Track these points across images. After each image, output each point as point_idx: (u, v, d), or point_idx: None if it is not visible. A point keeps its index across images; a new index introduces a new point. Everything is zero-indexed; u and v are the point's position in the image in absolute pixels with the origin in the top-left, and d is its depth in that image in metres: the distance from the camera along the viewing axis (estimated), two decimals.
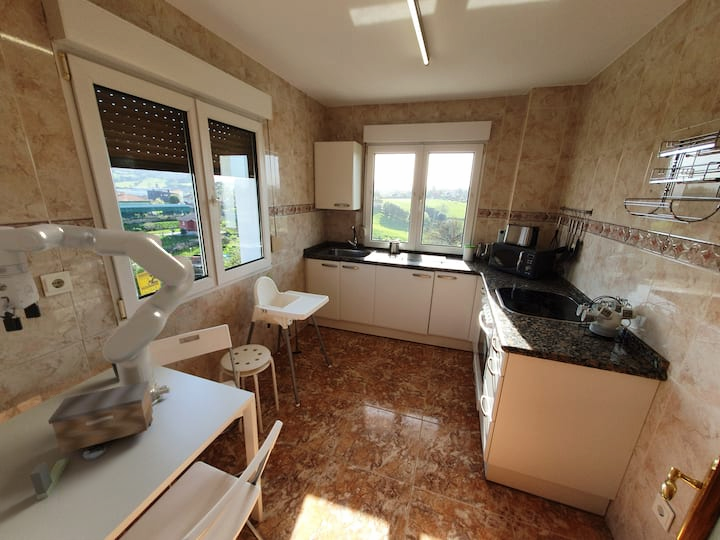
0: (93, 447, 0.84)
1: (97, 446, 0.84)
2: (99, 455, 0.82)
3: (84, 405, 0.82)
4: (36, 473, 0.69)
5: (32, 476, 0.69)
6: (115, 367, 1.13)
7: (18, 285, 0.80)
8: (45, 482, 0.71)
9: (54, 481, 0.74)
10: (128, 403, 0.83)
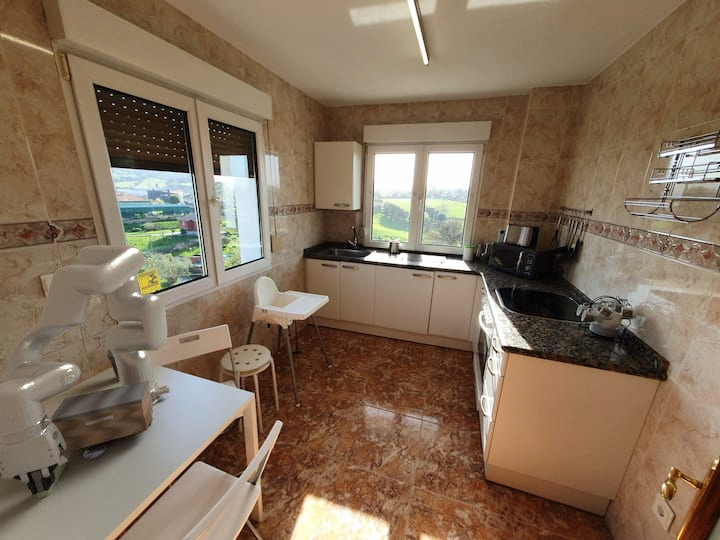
0: (91, 447, 0.83)
1: (95, 446, 0.84)
2: (103, 452, 0.83)
3: (84, 405, 0.82)
4: (37, 471, 0.69)
5: (33, 474, 0.69)
6: (115, 367, 1.13)
7: None
8: None
9: (55, 479, 0.74)
10: (128, 403, 0.83)
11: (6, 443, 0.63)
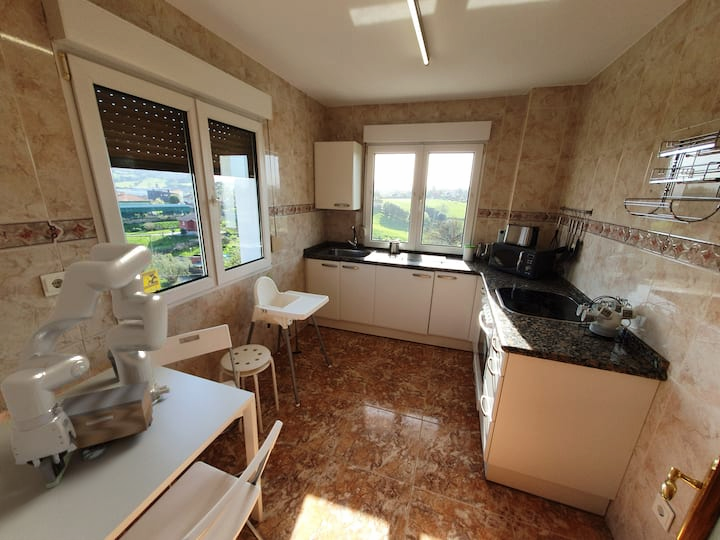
0: (87, 451, 0.82)
1: (90, 449, 0.83)
2: (105, 446, 0.85)
3: (84, 405, 0.82)
4: (44, 466, 0.71)
5: (40, 469, 0.71)
6: (115, 367, 1.13)
7: None
8: (53, 473, 0.73)
9: None
10: (128, 403, 0.83)
11: (20, 429, 0.67)
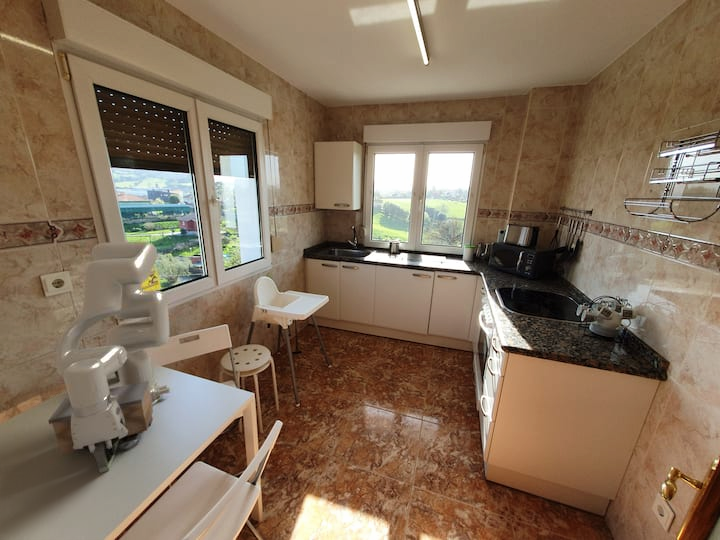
0: (122, 441, 0.86)
1: (124, 439, 0.87)
2: (138, 437, 0.88)
3: None
4: (98, 451, 0.75)
5: (95, 454, 0.75)
6: None
7: None
8: (106, 458, 0.78)
9: (112, 456, 0.81)
10: (128, 403, 0.83)
11: (80, 415, 0.71)
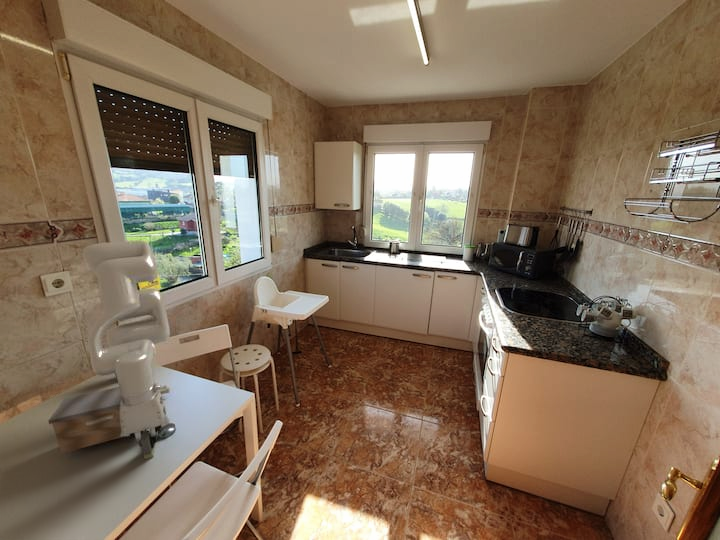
0: (161, 430, 0.90)
1: (163, 428, 0.91)
2: (175, 427, 0.93)
3: (84, 405, 0.82)
4: (145, 440, 0.79)
5: (141, 442, 0.79)
6: None
7: None
8: (150, 446, 0.82)
9: None
10: None
11: (129, 404, 0.76)
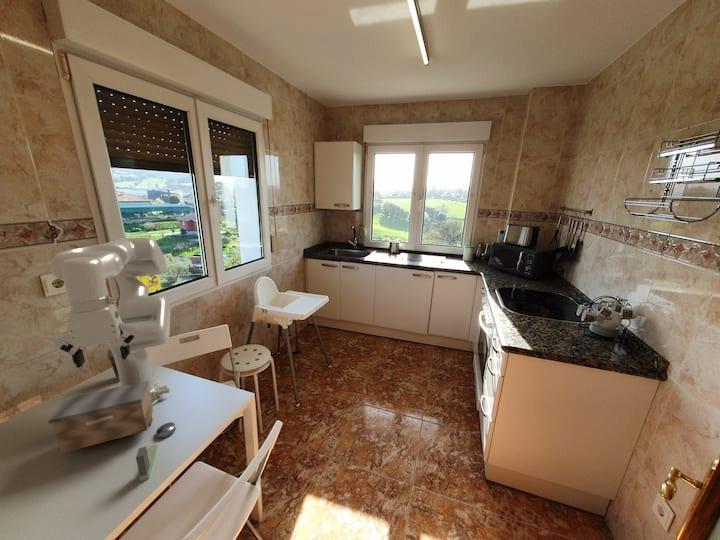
0: (168, 425, 0.92)
1: (169, 426, 0.92)
2: (161, 436, 0.89)
3: (84, 405, 0.82)
4: (141, 456, 0.74)
5: (137, 458, 0.74)
6: (115, 367, 1.13)
7: None
8: (146, 465, 0.76)
9: (151, 464, 0.79)
10: (128, 403, 0.83)
11: (78, 310, 0.70)
